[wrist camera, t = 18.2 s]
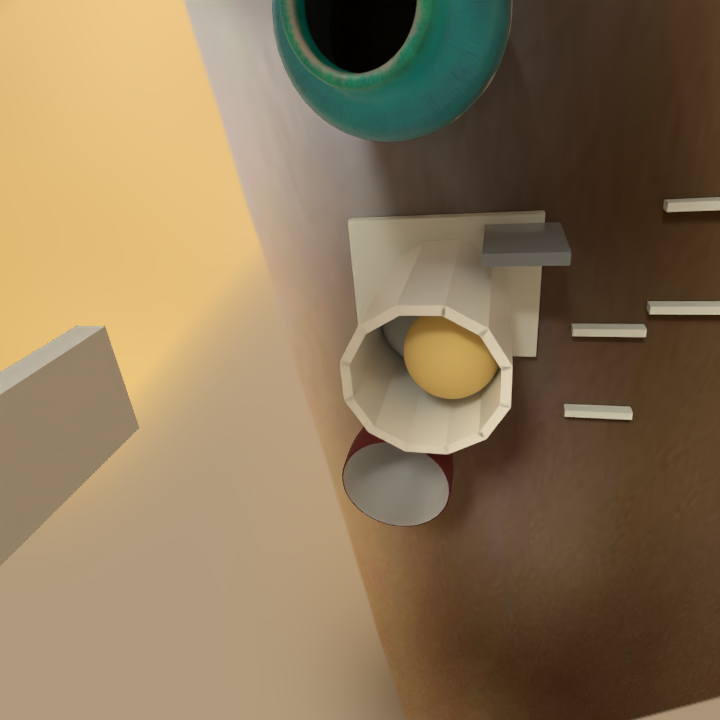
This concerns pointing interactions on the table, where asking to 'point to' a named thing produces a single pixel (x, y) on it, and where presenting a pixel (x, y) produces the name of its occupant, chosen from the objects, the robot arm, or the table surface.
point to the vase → (391, 60)
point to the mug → (396, 481)
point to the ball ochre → (447, 358)
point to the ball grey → (398, 332)
